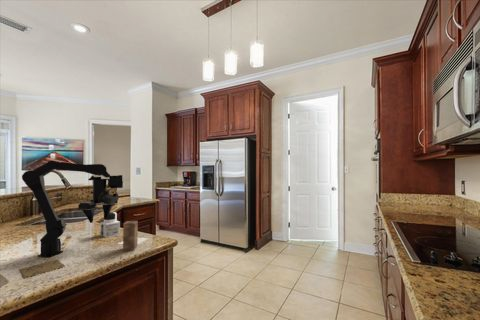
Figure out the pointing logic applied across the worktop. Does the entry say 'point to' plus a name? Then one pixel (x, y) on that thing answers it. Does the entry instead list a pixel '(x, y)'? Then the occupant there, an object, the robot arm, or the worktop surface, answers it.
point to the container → (110, 225)
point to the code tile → (137, 241)
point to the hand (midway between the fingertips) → (99, 220)
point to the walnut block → (130, 235)
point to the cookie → (41, 268)
